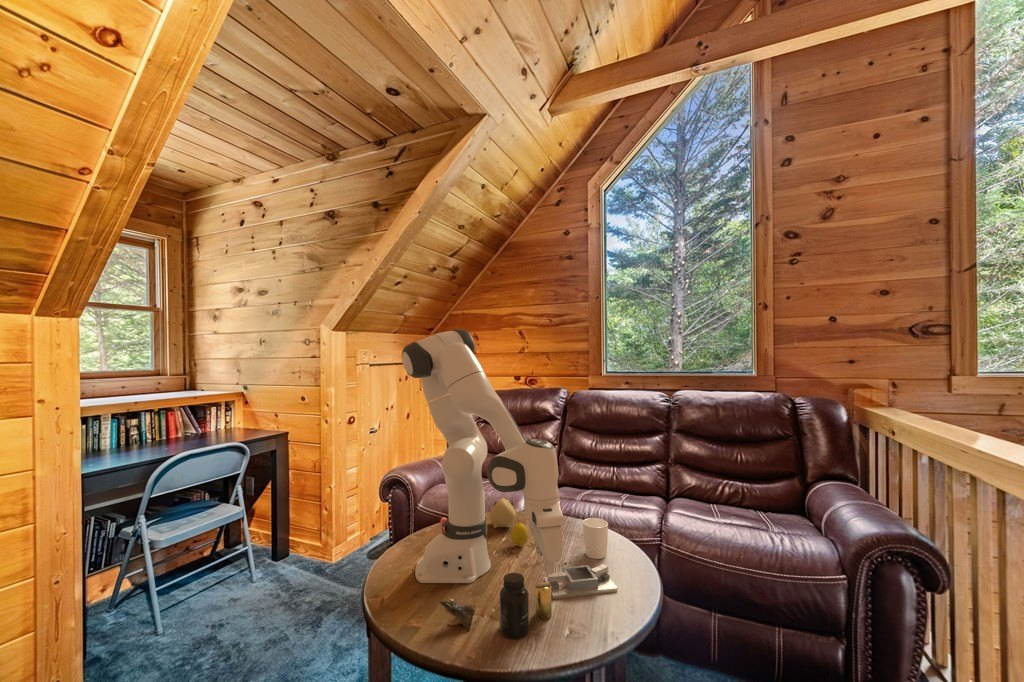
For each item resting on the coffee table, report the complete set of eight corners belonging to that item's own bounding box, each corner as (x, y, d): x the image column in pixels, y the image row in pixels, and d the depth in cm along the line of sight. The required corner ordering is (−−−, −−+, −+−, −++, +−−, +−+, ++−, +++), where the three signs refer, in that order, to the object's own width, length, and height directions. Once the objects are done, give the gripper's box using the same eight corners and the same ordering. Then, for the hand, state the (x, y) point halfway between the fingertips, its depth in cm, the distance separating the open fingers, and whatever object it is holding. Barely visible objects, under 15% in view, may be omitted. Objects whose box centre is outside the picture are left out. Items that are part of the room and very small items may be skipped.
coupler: (537, 621, 100) (537, 590, 100) (533, 611, 104) (533, 581, 104) (553, 619, 100) (553, 589, 101) (549, 609, 104) (548, 580, 104)
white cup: (610, 560, 129) (610, 527, 129) (585, 560, 129) (584, 527, 129) (605, 548, 136) (605, 517, 137) (581, 548, 137) (581, 517, 137)
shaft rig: (552, 599, 109) (552, 584, 109) (544, 580, 117) (544, 567, 118) (617, 591, 112) (617, 577, 112) (604, 574, 120) (604, 561, 121)
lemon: (511, 542, 141) (511, 518, 142) (527, 542, 141) (527, 518, 142) (510, 550, 136) (510, 525, 136) (527, 550, 136) (527, 525, 136)
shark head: (441, 638, 96) (438, 612, 95) (443, 616, 102) (440, 591, 101) (476, 632, 97) (473, 606, 96) (475, 610, 103) (472, 586, 102)
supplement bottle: (530, 639, 94) (529, 584, 94) (500, 641, 93) (499, 586, 93) (527, 619, 100) (526, 569, 101) (498, 621, 100) (498, 570, 100)
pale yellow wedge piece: (517, 520, 160) (516, 492, 161) (515, 533, 148) (514, 503, 149) (491, 519, 161) (491, 492, 161) (488, 533, 149) (487, 503, 149)
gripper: (521, 494, 112) (524, 545, 112) (538, 523, 92) (541, 587, 92) (544, 491, 113) (547, 543, 113) (566, 520, 93) (569, 583, 93)
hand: (544, 563), depth 102 cm, fingers open, 8 cm apart
